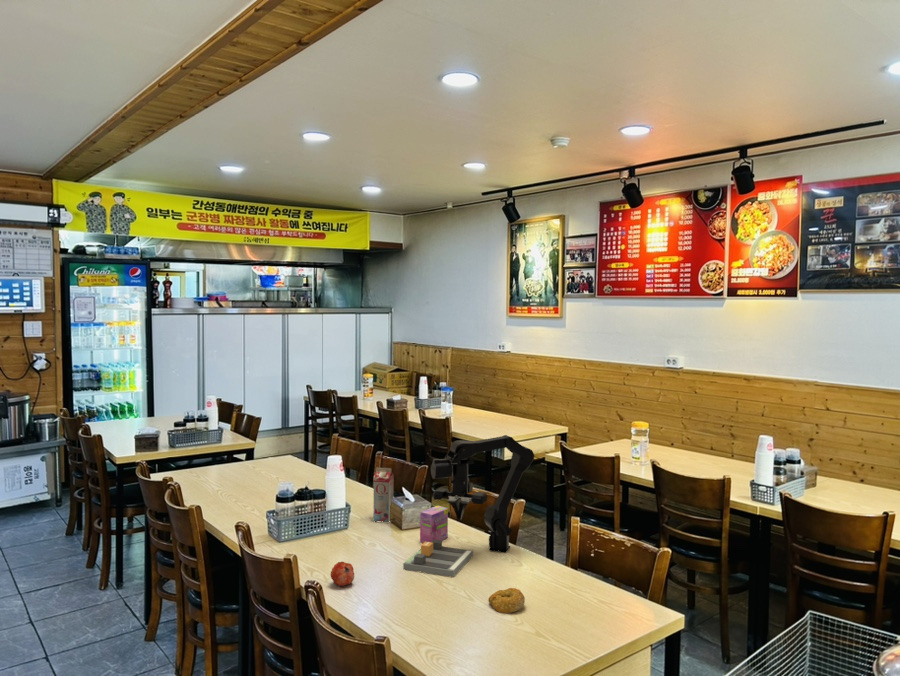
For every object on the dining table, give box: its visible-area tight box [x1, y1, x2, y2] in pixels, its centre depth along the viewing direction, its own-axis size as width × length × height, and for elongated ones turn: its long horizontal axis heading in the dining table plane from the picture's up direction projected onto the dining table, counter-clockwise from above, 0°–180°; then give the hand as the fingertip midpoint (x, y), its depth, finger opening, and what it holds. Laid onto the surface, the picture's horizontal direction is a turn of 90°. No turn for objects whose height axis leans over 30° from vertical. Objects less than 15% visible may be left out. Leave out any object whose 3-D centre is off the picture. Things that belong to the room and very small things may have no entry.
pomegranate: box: [330, 561, 355, 587], centre depth 203 cm, size 7×7×10 cm
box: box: [419, 505, 449, 544], centre depth 243 cm, size 10×6×12 cm, turn 143°
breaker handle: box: [420, 542, 433, 556], centre depth 222 cm, size 3×4×4 cm
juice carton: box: [373, 467, 395, 523], centre depth 267 cm, size 7×7×22 cm
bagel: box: [487, 587, 526, 614], centre depth 188 cm, size 10×11×5 cm
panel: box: [402, 539, 474, 578], centre depth 221 cm, size 18×20×4 cm
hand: (459, 519), depth 229 cm, fingers closed
